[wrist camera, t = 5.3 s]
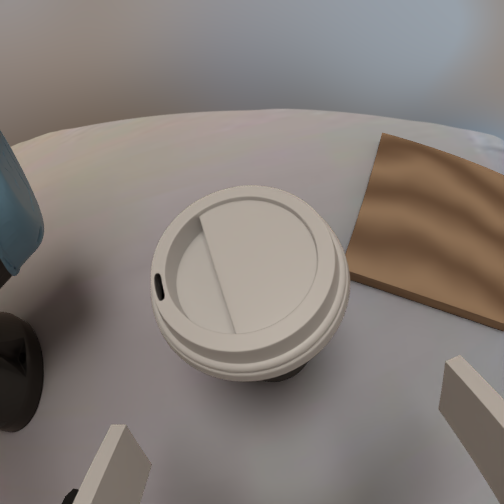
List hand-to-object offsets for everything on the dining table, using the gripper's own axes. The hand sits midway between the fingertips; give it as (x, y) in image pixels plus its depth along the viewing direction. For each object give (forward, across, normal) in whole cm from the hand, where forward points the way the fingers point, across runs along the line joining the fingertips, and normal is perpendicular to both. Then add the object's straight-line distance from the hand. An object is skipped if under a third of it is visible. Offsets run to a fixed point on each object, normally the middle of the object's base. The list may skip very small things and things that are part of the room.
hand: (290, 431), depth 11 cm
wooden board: (+20, +19, +1) cm, 28 cm away
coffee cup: (+15, -1, -4) cm, 15 cm away
